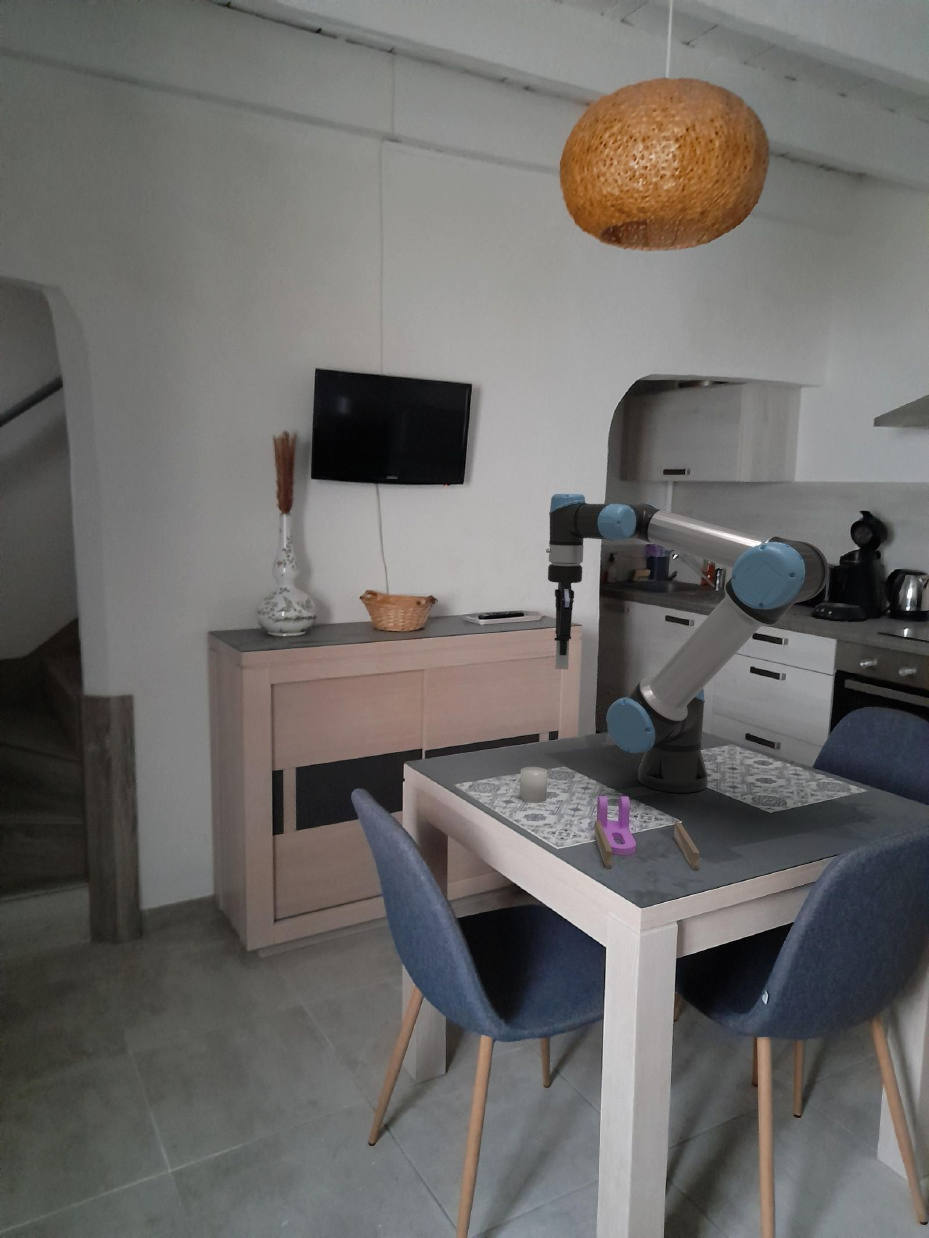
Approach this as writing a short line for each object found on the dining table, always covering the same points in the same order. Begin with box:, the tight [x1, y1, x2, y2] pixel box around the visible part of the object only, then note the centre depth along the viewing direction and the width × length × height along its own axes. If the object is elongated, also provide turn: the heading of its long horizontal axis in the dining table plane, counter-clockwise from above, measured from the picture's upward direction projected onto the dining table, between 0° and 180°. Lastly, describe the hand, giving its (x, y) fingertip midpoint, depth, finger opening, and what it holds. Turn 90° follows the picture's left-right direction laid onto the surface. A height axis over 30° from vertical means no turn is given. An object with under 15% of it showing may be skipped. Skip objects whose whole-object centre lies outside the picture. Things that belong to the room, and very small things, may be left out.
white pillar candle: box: [519, 766, 548, 804], centre depth 185 cm, size 6×6×6 cm
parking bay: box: [593, 820, 701, 870], centre depth 159 cm, size 16×14×3 cm
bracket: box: [596, 795, 637, 856], centre depth 164 cm, size 13×6×7 cm, turn 0°
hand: (561, 668), depth 199 cm, fingers closed
